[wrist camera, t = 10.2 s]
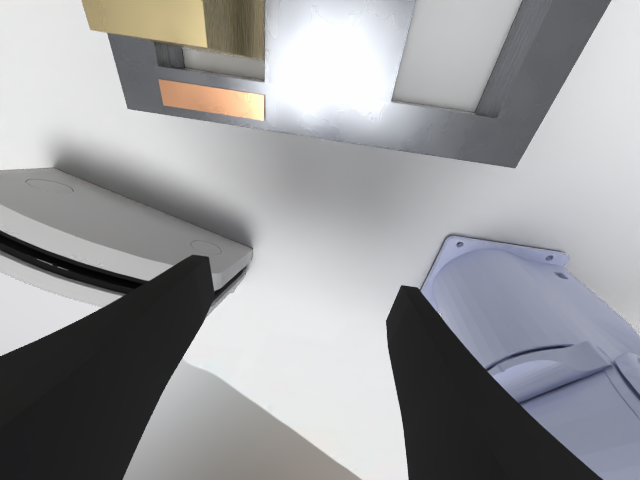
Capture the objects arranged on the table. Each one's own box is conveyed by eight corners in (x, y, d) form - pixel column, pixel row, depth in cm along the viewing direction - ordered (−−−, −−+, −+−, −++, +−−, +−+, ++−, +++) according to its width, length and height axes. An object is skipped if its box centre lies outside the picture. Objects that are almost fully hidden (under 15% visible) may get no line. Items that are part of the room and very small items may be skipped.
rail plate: (614, -82, 10) (688, -127, 8) (493, 156, 16) (517, 169, 14) (99, -163, 10) (31, -230, 8) (156, 104, 16) (125, 109, 14)
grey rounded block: (58, 217, 22) (-139, 254, 12) (69, 166, 21) (-137, 161, 11) (241, 286, 24) (201, 361, 15) (259, 244, 23) (228, 295, 14)
